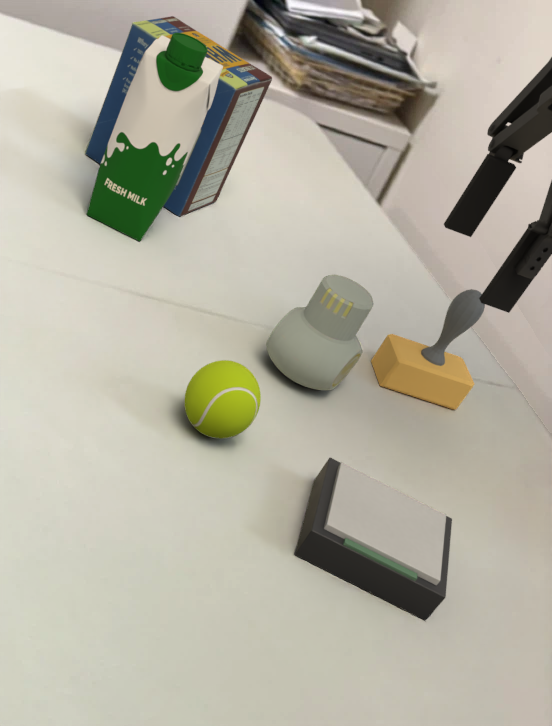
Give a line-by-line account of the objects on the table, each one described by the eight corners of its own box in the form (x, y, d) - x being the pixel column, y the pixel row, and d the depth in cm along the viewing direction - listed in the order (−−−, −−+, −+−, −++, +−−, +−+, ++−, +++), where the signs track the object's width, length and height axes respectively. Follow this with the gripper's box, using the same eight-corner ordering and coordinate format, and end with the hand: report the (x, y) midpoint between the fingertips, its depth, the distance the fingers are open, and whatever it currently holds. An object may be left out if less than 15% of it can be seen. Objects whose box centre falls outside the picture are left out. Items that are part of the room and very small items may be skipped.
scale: (433, 541, 105) (456, 513, 103) (425, 621, 96) (450, 592, 94) (313, 481, 105) (333, 451, 103) (294, 555, 96) (315, 524, 94)
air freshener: (288, 337, 123) (335, 256, 116) (349, 378, 121) (400, 298, 114) (248, 365, 116) (295, 280, 108) (312, 409, 114) (364, 325, 107)
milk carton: (76, 214, 126) (146, 27, 111) (97, 189, 132) (166, 9, 117) (145, 248, 126) (223, 66, 111) (162, 221, 132) (239, 46, 117)
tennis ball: (247, 459, 104) (283, 398, 99) (182, 447, 101) (216, 384, 96) (227, 413, 108) (261, 353, 103) (164, 401, 106) (196, 338, 101)
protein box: (123, 141, 144) (172, 14, 133) (217, 202, 141) (275, 77, 130) (82, 153, 137) (130, 20, 126) (179, 218, 134) (238, 88, 123)
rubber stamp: (444, 383, 129) (509, 292, 120) (456, 412, 125) (524, 319, 116) (370, 359, 126) (431, 264, 118) (380, 387, 123) (444, 291, 114)
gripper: (559, -66, 88) (409, 190, 103) (669, 42, 71) (471, 327, 87) (637, -31, 89) (477, 216, 105) (762, 82, 73) (551, 355, 88)
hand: (474, 266), depth 96 cm, fingers open, 13 cm apart
